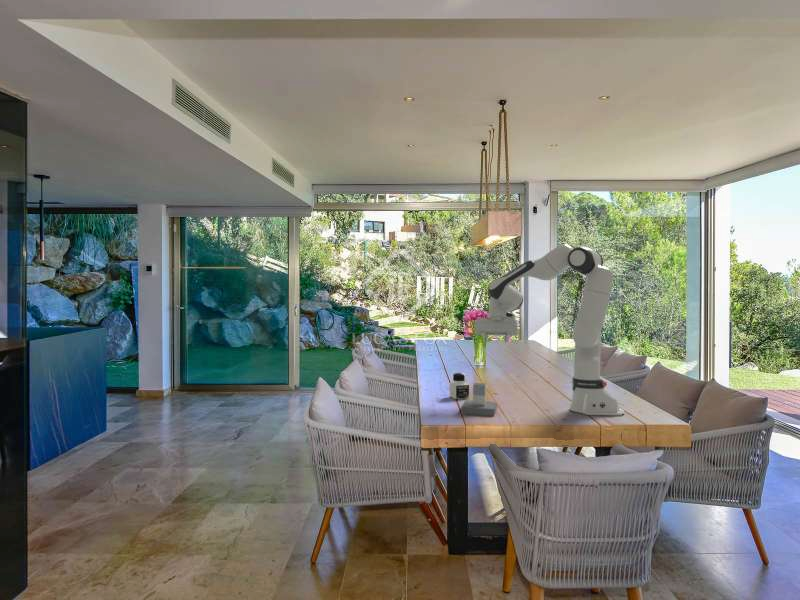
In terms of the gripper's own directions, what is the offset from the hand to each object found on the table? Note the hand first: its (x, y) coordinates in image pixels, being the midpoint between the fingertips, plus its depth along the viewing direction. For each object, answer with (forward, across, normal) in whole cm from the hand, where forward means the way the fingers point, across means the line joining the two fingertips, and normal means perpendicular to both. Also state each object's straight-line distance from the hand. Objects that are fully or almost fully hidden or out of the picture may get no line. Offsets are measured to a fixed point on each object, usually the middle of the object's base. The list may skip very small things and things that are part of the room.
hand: (495, 340), depth 250 cm
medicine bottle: (+15, -18, +26) cm, 35 cm away
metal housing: (+32, -5, +6) cm, 32 cm away
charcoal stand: (+34, -6, +8) cm, 35 cm away
